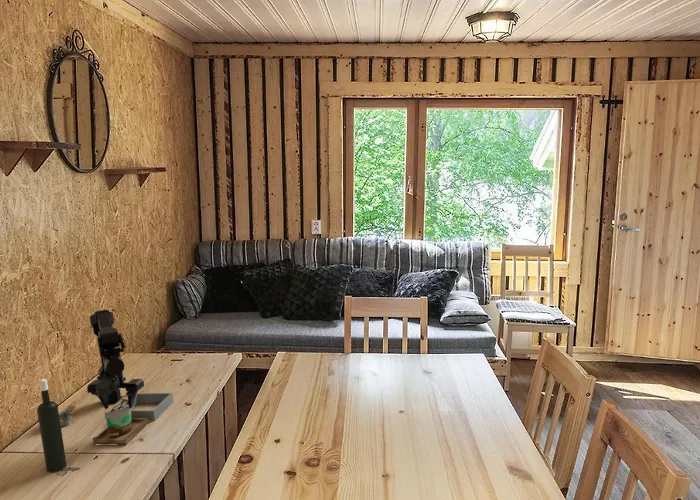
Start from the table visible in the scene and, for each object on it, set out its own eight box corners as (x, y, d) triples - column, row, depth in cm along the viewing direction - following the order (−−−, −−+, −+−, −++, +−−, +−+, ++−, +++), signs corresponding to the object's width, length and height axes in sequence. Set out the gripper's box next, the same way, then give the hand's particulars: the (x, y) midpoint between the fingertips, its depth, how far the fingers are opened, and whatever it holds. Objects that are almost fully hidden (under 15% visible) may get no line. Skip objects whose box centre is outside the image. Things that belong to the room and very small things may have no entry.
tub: (117, 421, 212) (115, 411, 211) (138, 402, 228) (136, 393, 227) (154, 420, 210) (153, 410, 209) (173, 402, 226) (172, 392, 225)
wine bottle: (45, 474, 177) (31, 384, 172) (47, 465, 182) (33, 378, 177) (66, 469, 179) (52, 380, 174) (67, 461, 184) (53, 374, 179)
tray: (93, 445, 194) (93, 439, 194) (118, 423, 210) (117, 418, 209) (126, 445, 192) (125, 439, 192) (148, 423, 208) (147, 418, 208)
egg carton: (71, 418, 217) (70, 408, 217) (73, 425, 211) (72, 415, 210) (40, 426, 212) (39, 416, 211) (41, 434, 206) (40, 423, 205)
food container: (124, 440, 194) (120, 413, 193) (107, 440, 195) (104, 413, 194) (141, 423, 206) (138, 397, 205) (126, 423, 207) (122, 398, 206)
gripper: (74, 375, 190) (81, 419, 193) (126, 375, 188) (132, 418, 190) (93, 364, 201) (99, 404, 204) (142, 363, 199) (147, 404, 201)
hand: (118, 408), depth 199 cm, fingers open, 9 cm apart
